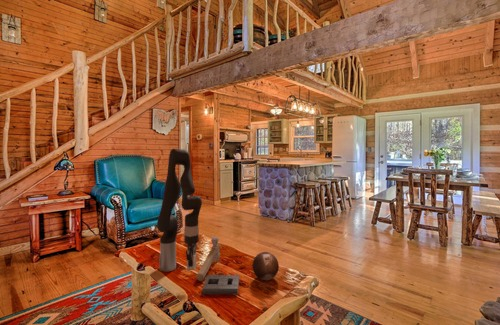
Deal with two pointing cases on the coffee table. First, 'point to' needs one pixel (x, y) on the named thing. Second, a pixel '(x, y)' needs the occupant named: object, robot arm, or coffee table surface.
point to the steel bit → (193, 263)
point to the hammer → (209, 259)
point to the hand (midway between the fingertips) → (191, 264)
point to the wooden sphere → (265, 266)
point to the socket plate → (221, 284)
